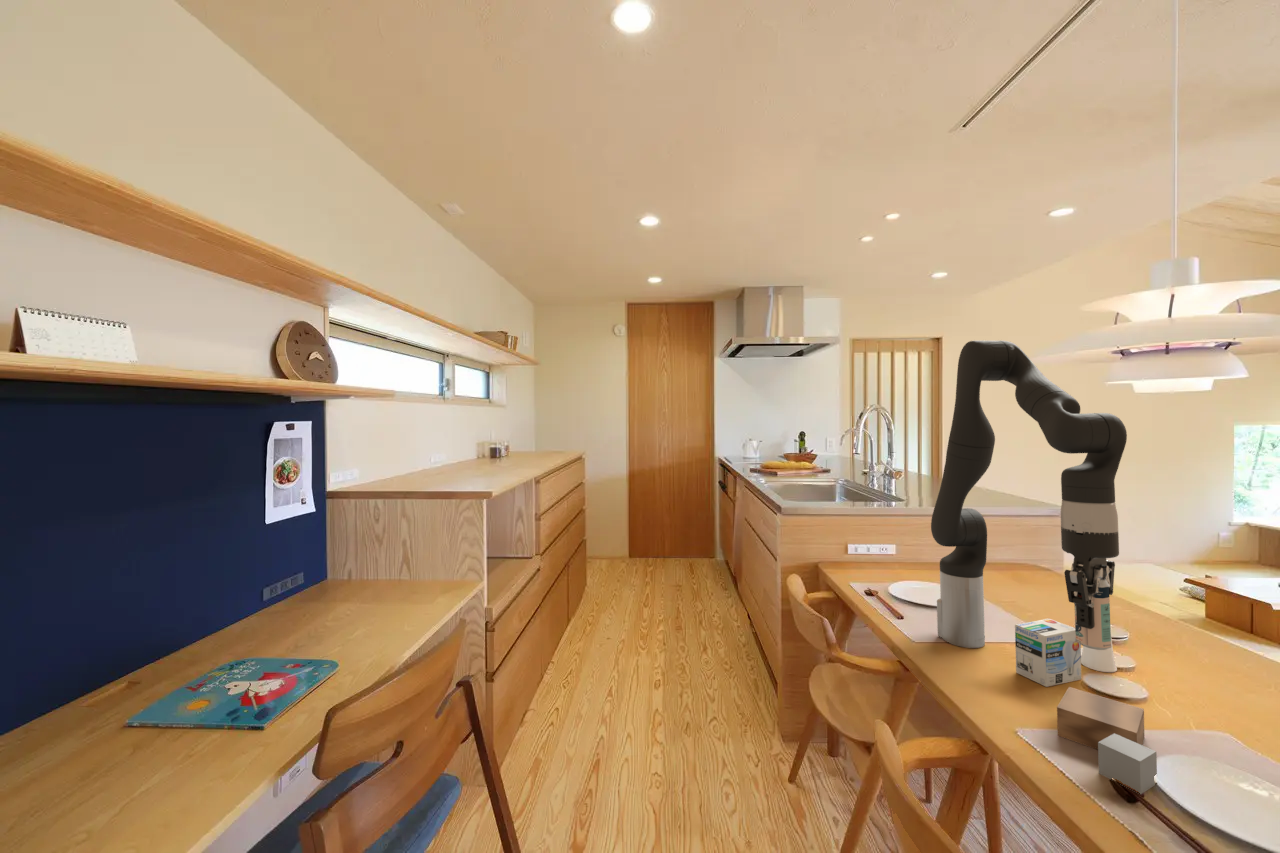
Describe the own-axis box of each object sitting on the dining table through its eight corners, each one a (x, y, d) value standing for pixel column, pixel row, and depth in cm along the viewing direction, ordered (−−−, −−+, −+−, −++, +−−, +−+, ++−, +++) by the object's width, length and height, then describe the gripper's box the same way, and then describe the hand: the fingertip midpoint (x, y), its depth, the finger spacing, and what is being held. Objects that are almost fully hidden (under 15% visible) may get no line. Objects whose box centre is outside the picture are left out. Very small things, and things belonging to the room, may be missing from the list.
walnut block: (1057, 735, 88) (1057, 707, 88) (1069, 713, 94) (1068, 686, 94) (1137, 764, 80) (1136, 733, 80) (1144, 737, 87) (1143, 708, 87)
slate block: (1098, 773, 78) (1098, 742, 78) (1115, 764, 81) (1114, 733, 81) (1140, 794, 74) (1140, 761, 74) (1157, 784, 76) (1156, 751, 76)
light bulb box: (1046, 688, 103) (1045, 636, 103) (1014, 672, 110) (1013, 624, 110) (1083, 679, 106) (1082, 629, 106) (1049, 665, 113) (1048, 617, 113)
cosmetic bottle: (1073, 659, 115) (1071, 563, 115) (1103, 660, 114) (1101, 564, 114) (1093, 672, 109) (1090, 571, 109) (1124, 673, 108) (1122, 572, 108)
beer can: (1074, 637, 91) (1072, 571, 91) (1110, 644, 88) (1108, 576, 88) (1075, 646, 87) (1073, 578, 87) (1112, 654, 84) (1110, 582, 84)
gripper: (1079, 519, 94) (1082, 609, 94) (1043, 528, 87) (1047, 625, 87) (1133, 525, 88) (1136, 622, 88) (1099, 535, 81) (1103, 640, 81)
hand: (1092, 623), depth 87 cm, fingers closed on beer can, 4 cm apart
